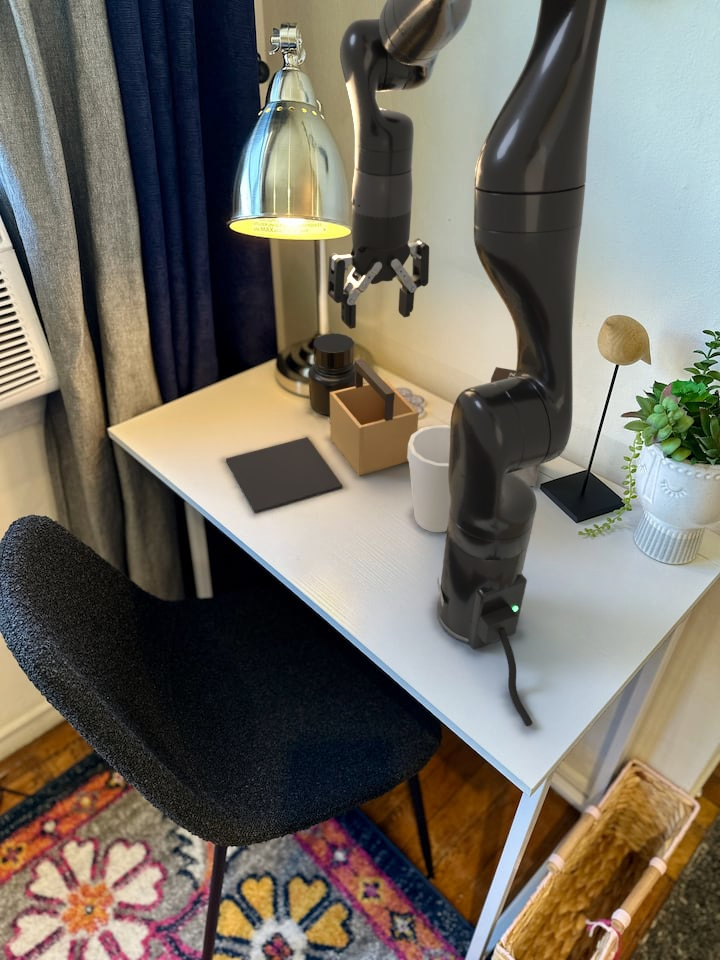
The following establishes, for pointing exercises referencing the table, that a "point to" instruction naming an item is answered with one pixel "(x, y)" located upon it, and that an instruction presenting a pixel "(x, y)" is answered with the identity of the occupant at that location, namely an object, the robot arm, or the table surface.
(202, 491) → the table surface
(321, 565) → the table surface
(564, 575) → the table surface
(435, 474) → the foam cup
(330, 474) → the bin mat
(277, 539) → the table surface
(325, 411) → the ink bottle
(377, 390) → the handled storage bin
